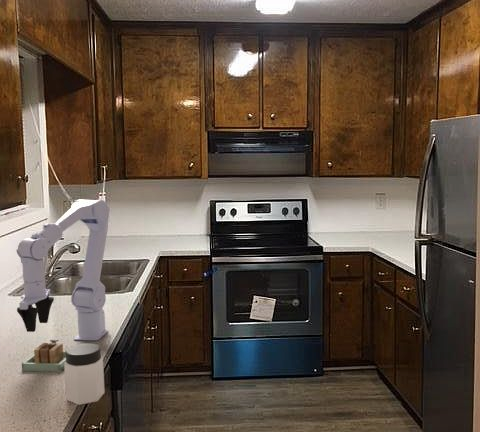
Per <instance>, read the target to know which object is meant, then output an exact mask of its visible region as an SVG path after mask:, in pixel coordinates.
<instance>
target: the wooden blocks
mask: <svg viewBox="0 0 480 432" xmlns="http://www.w3.org/2000/svg"><path fill="white" fill-rule="evenodd" d="M63 343H64V342H63ZM63 343H62V342H58V343H57V342H56V343H52V342H43V343H41V344H40V345H39V346H37V347H36V348H34V350H33V352H34V353H33V355H34V356H35V358H33V361H34V363H54V364H58V363H59V362H60V361H61V360H62V359H63V351H64V345H63Z"/></svg>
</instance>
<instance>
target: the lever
mask: <svg viewBox="0 0 480 432" xmlns="http://www.w3.org/2000/svg"><path fill="white" fill-rule="evenodd" d="M57 342H59V339H50V340H49V343H57Z"/></svg>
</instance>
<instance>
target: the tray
mask: <svg viewBox="0 0 480 432" xmlns="http://www.w3.org/2000/svg"><path fill="white" fill-rule="evenodd" d="M33 358H35V356H34V354H32V355H31V356H30V357H28V358H27V359H25V361H22V363H21V371H23V372H24V371H25V372H49V371H51V373H53V372H55V371H61V372H62V371H63V370H65V368H64V363H65V362H66V350H63V359H62V360H61V361H60V362H59V363H58V364H54V363H34V361H33ZM52 371H53V372H52ZM55 373H56V372H55Z"/></svg>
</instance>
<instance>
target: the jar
mask: <svg viewBox="0 0 480 432" xmlns="http://www.w3.org/2000/svg"><path fill="white" fill-rule="evenodd" d="M101 348H102V347H101V346H100V344H97V343H90V342H89V343H79V344H75V345H72V346H69V347H68V348H67V349H65V351H66V362H65V363H64V378H65V379H64V381H65V382H64V383H65V397H66V398H65V399H66V401H67V400H69V401H68V402H70V401H71V402H70V403H72V402H73V404H75V405H77V406H80V405H86V404H91V403H96V402H99V400H100V399H101V398H102V397H103V395H104V394H105V376H104V373H105V372H104V356H102V350H101Z"/></svg>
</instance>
